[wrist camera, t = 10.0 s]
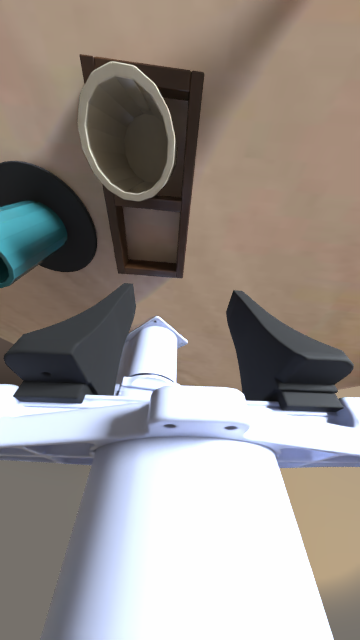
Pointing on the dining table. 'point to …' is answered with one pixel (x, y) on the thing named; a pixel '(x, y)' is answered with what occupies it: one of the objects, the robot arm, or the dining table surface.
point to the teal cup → (27, 238)
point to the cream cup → (126, 131)
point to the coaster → (42, 186)
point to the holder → (183, 88)
